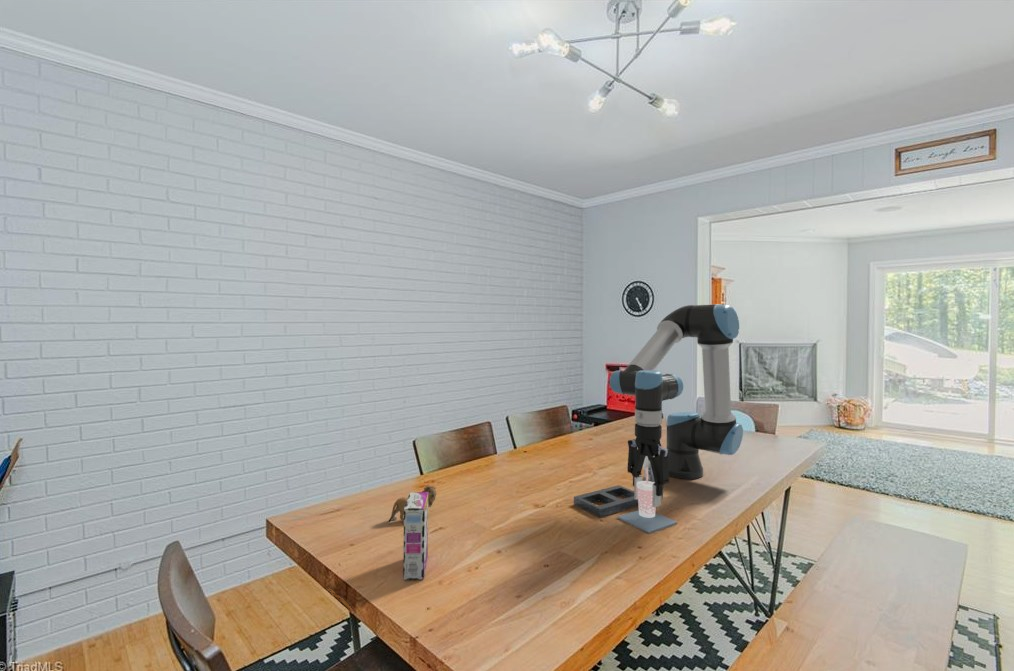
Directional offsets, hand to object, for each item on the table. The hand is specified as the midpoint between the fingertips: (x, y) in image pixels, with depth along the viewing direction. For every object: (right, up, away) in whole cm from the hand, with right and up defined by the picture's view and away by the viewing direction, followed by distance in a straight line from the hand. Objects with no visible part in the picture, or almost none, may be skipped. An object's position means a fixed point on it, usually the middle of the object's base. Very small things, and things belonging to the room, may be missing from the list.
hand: (647, 501), depth 139 cm
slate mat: (0, -6, 0) cm, 6 cm away
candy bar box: (-62, -7, -26) cm, 68 cm away
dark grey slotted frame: (-8, -5, +13) cm, 16 cm away
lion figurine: (-69, -6, +2) cm, 69 cm away
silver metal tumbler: (+8, -5, +19) cm, 22 cm away
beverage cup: (0, -4, 0) cm, 4 cm away
